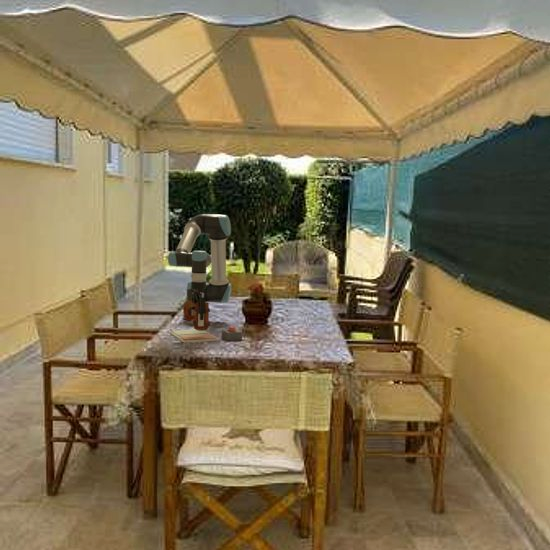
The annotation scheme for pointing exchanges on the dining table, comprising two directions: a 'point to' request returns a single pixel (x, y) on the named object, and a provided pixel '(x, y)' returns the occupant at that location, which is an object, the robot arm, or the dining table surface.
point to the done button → (231, 329)
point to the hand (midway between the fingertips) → (197, 324)
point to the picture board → (193, 335)
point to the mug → (196, 315)
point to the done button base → (232, 335)
